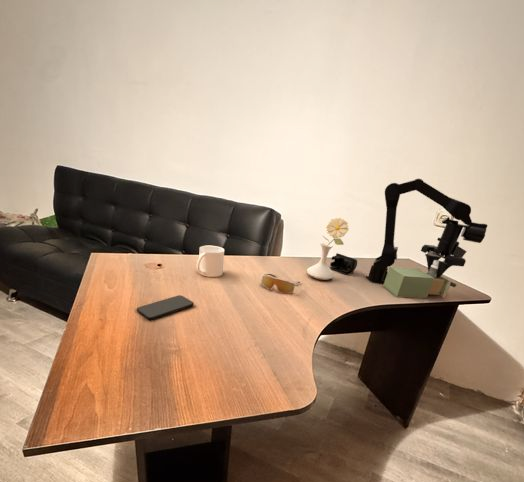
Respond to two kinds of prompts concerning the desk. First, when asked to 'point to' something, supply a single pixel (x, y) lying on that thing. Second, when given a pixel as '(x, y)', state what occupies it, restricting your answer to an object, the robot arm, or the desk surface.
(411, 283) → the cabinet
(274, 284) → the sunglasses
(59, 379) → the desk surface
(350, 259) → the end cap
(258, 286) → the desk surface
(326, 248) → the flower in vase
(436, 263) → the pill bottle
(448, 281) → the drawer
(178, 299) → the smartphone
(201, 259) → the mug
